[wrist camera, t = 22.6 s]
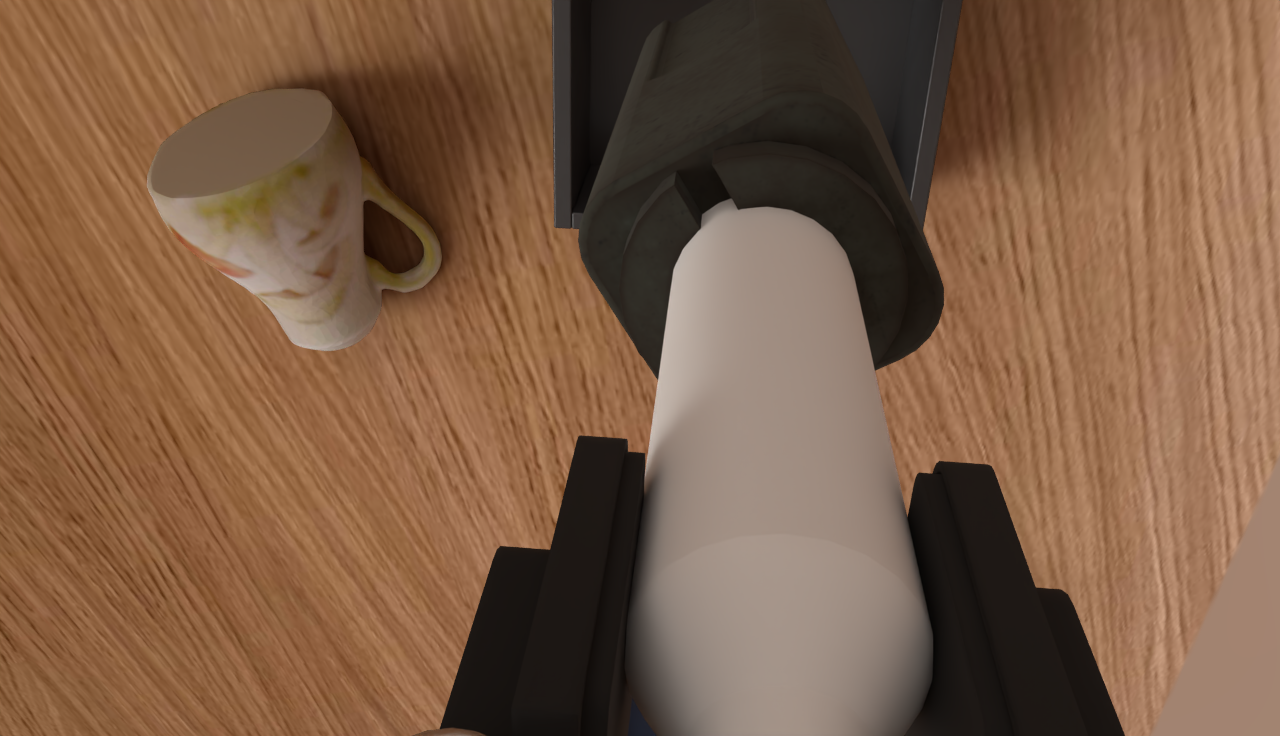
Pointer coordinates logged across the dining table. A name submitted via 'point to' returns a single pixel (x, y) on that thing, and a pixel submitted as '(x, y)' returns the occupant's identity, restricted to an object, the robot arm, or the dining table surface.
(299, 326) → the mug
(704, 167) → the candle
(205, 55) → the dining table surface
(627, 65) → the charcoal bin
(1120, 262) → the dining table surface
